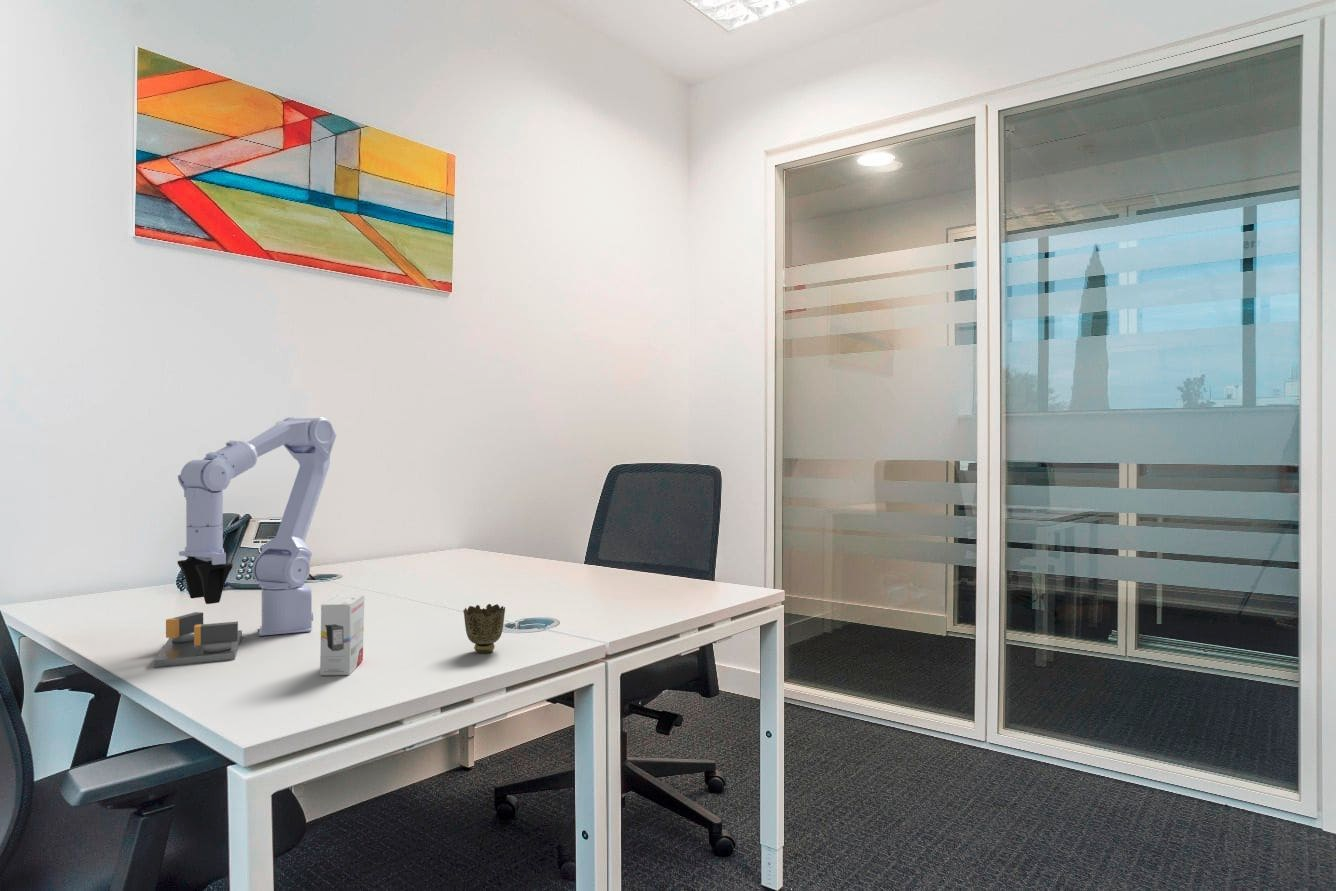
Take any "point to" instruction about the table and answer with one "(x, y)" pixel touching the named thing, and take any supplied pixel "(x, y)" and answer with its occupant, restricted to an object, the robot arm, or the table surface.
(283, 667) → the table surface
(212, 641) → the knob
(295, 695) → the table surface
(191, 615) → the knob
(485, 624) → the cup
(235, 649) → the plate
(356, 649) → the ink box
